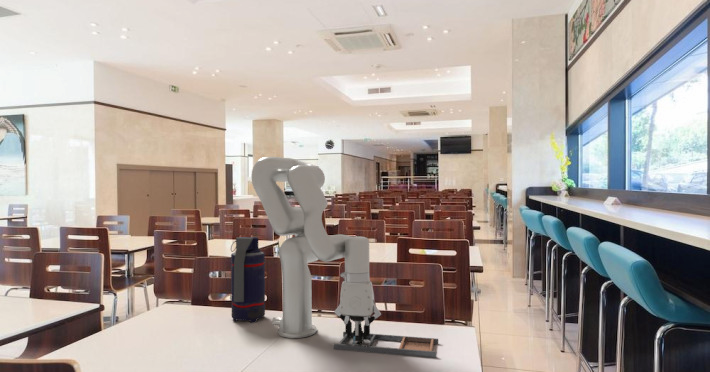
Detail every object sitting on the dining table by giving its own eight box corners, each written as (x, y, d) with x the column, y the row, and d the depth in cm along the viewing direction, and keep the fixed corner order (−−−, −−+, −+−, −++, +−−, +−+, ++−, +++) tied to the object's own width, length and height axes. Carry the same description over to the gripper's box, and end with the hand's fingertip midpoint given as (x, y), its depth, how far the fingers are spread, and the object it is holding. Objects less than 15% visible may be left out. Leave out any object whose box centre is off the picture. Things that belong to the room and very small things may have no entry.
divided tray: (333, 348, 129) (333, 343, 129) (343, 336, 140) (343, 331, 140) (436, 357, 122) (436, 352, 122) (438, 343, 133) (438, 338, 133)
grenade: (240, 313, 167) (240, 234, 167) (270, 314, 164) (269, 235, 164) (222, 324, 153) (222, 239, 153) (254, 326, 151) (253, 239, 151)
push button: (363, 348, 129) (363, 315, 129) (346, 347, 131) (346, 313, 131) (368, 340, 136) (368, 308, 136) (352, 339, 137) (352, 307, 137)
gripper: (327, 278, 132) (327, 338, 132) (382, 281, 128) (382, 343, 128) (334, 273, 139) (334, 330, 139) (386, 275, 135) (387, 334, 135)
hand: (357, 336), depth 133 cm, fingers open, 4 cm apart
